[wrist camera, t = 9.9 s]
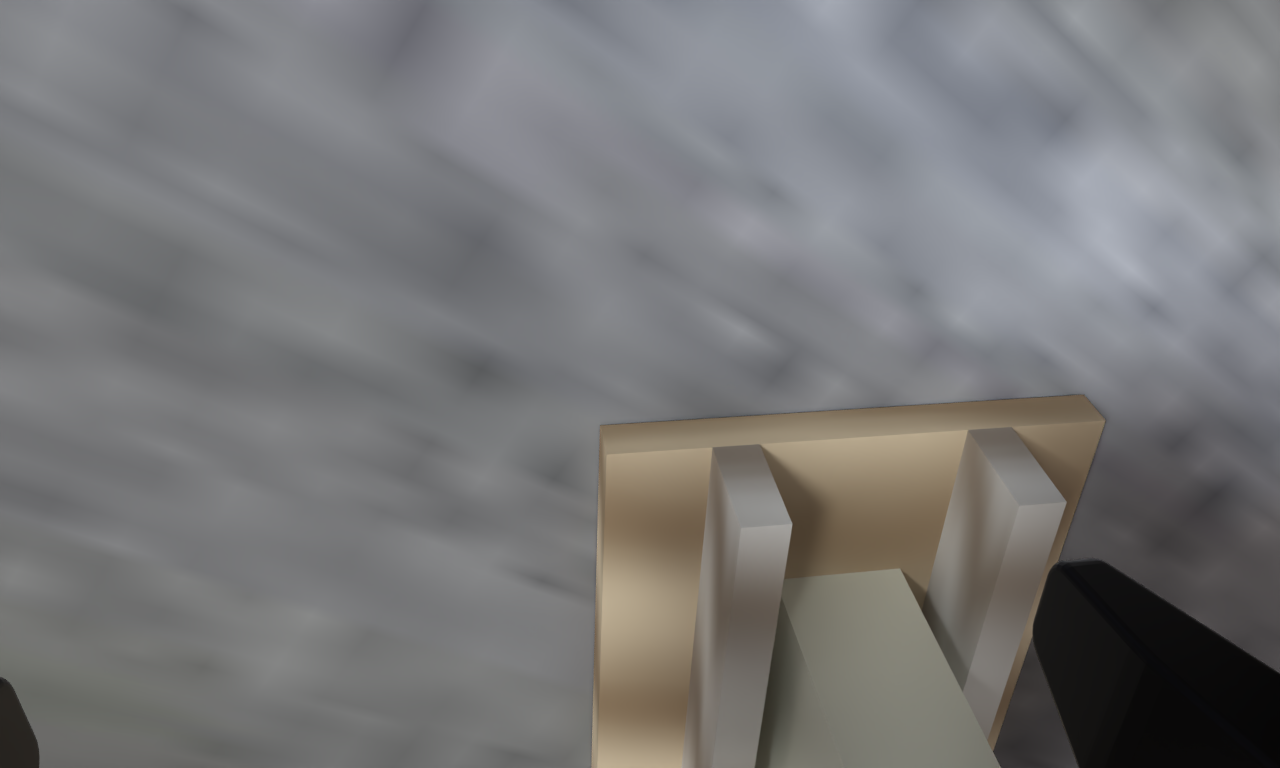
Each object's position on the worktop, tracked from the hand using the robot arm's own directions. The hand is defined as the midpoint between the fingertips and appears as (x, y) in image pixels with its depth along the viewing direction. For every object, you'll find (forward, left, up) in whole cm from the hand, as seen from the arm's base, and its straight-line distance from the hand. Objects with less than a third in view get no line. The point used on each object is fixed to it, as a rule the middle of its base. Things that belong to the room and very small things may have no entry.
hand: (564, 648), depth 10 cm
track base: (-7, +15, -12) cm, 21 cm away
